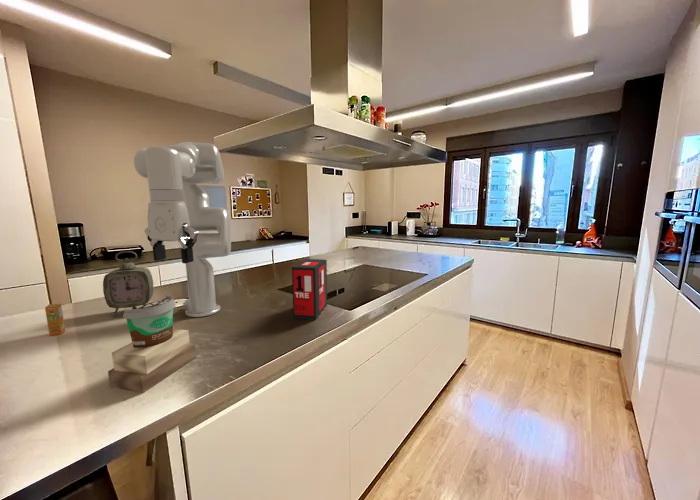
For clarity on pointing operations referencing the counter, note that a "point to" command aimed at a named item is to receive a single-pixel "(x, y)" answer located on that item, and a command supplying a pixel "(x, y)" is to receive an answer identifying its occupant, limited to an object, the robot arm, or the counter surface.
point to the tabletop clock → (127, 285)
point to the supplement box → (55, 319)
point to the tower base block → (151, 373)
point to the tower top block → (149, 354)
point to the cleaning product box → (309, 288)
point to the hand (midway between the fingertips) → (173, 261)
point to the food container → (151, 323)
